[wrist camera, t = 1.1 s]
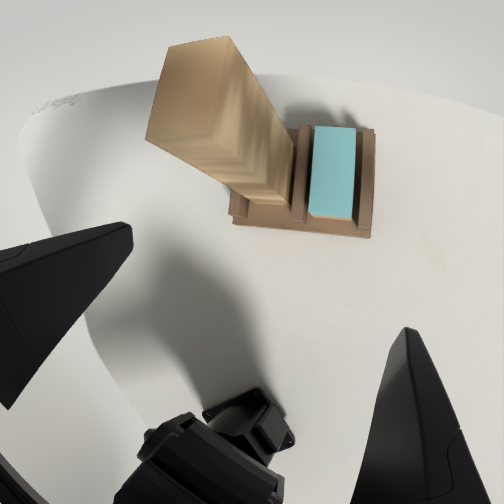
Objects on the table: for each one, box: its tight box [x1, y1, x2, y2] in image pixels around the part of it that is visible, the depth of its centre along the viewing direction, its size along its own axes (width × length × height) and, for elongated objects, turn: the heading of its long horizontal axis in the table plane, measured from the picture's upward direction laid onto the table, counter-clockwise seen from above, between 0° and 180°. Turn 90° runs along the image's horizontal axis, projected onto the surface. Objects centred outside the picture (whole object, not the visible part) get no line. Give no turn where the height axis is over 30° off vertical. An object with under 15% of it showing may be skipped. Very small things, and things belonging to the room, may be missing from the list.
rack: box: [228, 125, 375, 239], centre depth 23 cm, size 8×11×3 cm
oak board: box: [145, 36, 296, 206], centre depth 17 cm, size 4×3×14 cm, turn 173°
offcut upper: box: [308, 126, 356, 219], centre depth 20 cm, size 6×3×2 cm, turn 173°
